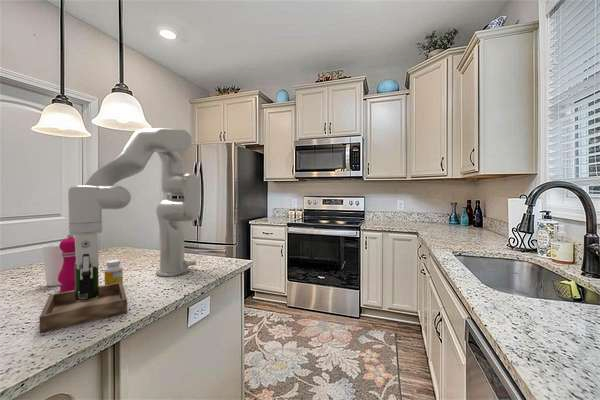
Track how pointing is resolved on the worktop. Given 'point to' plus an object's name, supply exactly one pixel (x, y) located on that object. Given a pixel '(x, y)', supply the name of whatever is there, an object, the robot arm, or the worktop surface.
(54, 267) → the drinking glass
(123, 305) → the box
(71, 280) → the pepper mill
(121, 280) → the supplement bottle
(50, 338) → the worktop surface
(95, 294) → the beer can
